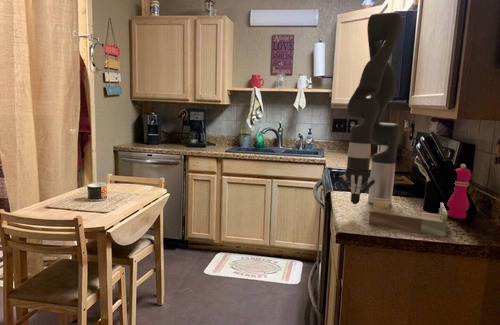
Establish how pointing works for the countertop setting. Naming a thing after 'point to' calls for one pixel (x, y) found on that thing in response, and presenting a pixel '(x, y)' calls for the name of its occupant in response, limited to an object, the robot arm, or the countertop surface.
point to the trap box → (412, 221)
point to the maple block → (381, 205)
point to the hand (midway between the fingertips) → (354, 203)
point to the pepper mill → (459, 194)
